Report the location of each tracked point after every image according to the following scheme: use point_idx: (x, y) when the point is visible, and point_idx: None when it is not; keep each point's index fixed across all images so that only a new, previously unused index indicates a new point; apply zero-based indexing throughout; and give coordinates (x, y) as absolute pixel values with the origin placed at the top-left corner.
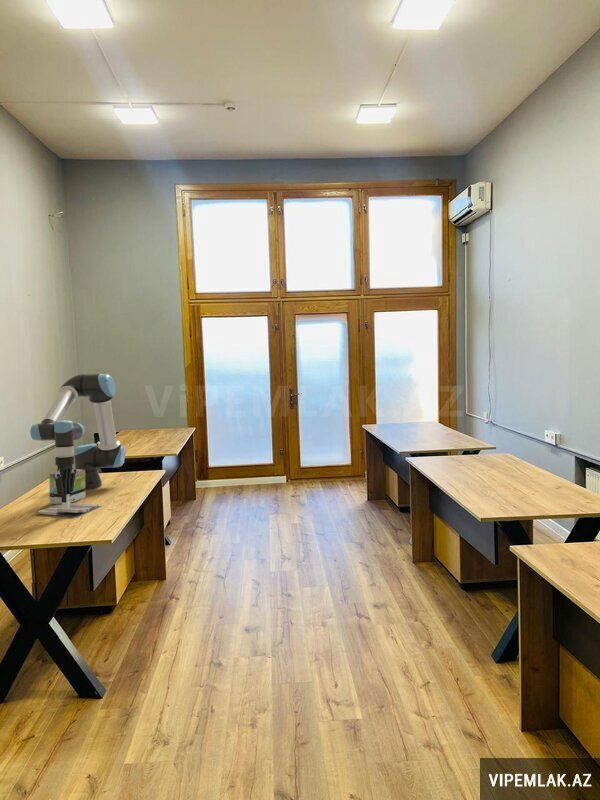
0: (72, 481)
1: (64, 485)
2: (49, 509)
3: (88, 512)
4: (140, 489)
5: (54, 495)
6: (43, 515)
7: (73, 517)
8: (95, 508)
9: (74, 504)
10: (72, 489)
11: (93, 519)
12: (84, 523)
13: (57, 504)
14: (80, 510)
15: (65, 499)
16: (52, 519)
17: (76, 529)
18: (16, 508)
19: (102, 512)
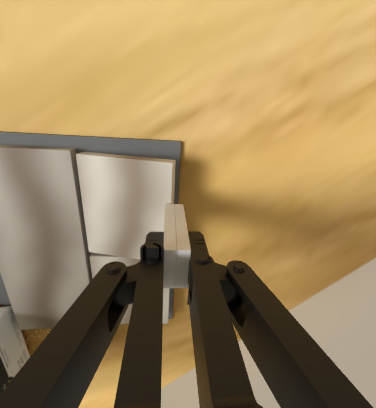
0: (76, 352)
1: (231, 328)
2: (130, 305)
3: (84, 138)
4: None
5: (4, 384)
6: (171, 291)
7: (179, 163)
8: (2, 144)
9: (18, 267)
10: (112, 273)
11: (188, 33)
12: (260, 46)
13: (49, 325)
14: (132, 158)
15: (194, 241)
16: (206, 236)
17: (356, 31)
18: (109, 399)
19: (45, 57)
